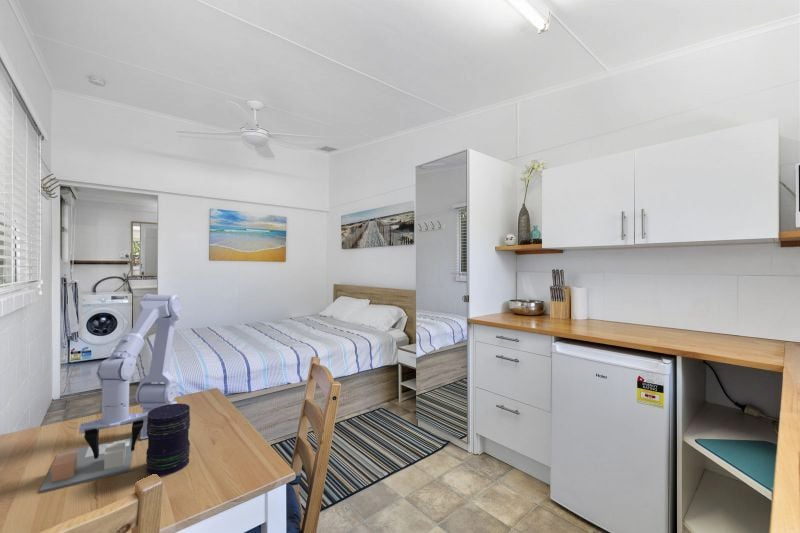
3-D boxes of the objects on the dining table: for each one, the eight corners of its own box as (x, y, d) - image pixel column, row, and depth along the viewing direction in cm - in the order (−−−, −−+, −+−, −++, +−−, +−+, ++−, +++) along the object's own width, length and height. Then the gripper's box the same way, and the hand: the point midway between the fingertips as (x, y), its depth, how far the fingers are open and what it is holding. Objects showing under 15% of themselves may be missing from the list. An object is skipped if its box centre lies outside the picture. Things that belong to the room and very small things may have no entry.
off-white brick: (125, 454, 101) (125, 440, 101) (123, 465, 96) (123, 450, 96) (107, 458, 99) (107, 444, 99) (104, 469, 94) (104, 454, 94)
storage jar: (142, 480, 91) (143, 421, 91) (149, 460, 99) (149, 406, 99) (188, 470, 95) (189, 414, 95) (190, 452, 104) (191, 401, 104)
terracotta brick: (78, 465, 95) (78, 450, 95) (73, 476, 90) (73, 461, 90) (57, 469, 93) (57, 454, 93) (51, 482, 88) (51, 465, 88)
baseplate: (134, 439, 111) (134, 436, 111) (129, 471, 94) (129, 468, 94) (59, 454, 102) (59, 451, 102) (39, 493, 85) (39, 490, 85)
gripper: (77, 413, 90) (76, 468, 90) (148, 402, 98) (147, 452, 98) (82, 404, 96) (81, 455, 96) (148, 394, 104) (148, 441, 104)
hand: (115, 453), depth 97 cm, fingers open, 7 cm apart
